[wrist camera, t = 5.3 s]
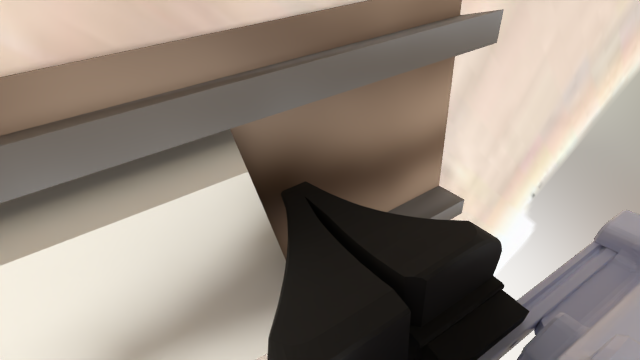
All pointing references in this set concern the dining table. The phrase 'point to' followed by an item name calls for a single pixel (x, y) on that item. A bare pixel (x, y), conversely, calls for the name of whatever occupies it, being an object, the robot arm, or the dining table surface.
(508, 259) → the dining table surface
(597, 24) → the dining table surface
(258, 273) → the white flat square block
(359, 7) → the bay
